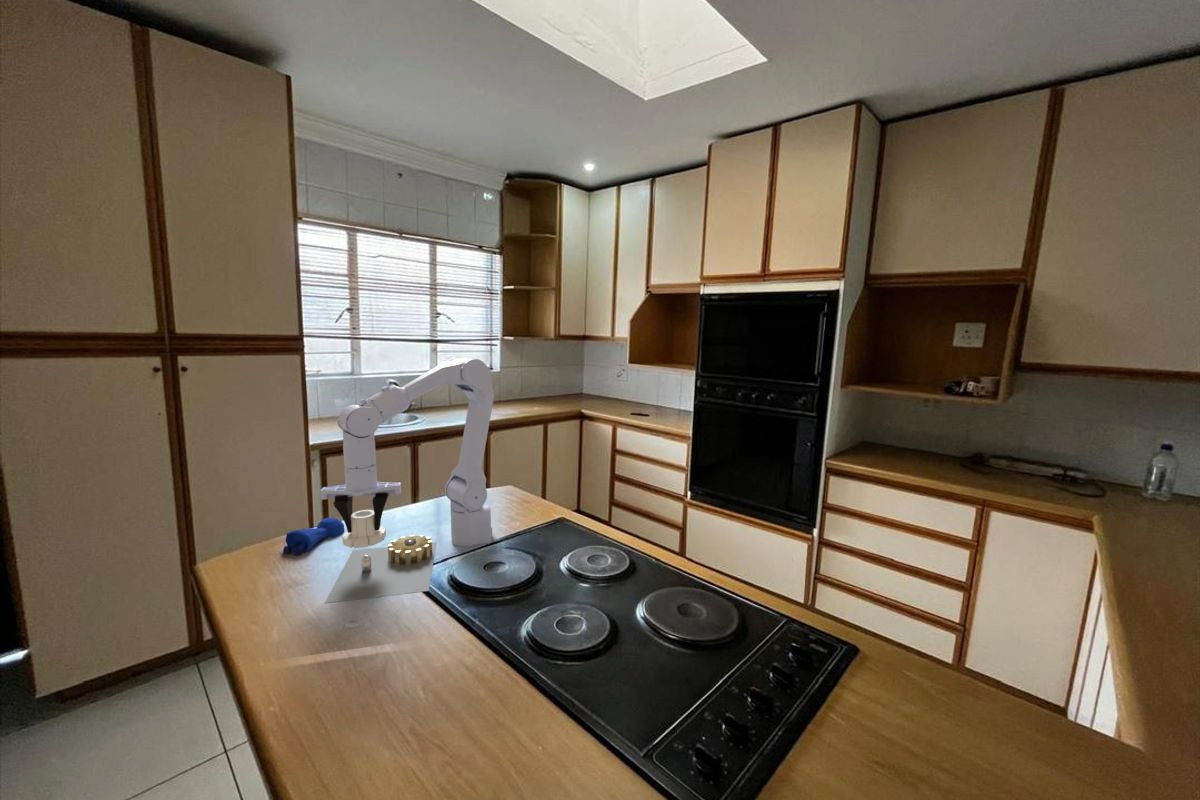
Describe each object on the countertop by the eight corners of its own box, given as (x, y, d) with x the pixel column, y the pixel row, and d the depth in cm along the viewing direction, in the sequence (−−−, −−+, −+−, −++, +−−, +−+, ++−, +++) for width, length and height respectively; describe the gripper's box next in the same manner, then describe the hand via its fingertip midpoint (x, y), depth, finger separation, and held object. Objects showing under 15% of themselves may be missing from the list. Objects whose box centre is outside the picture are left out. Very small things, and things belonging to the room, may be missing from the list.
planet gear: (387, 530, 103) (386, 505, 103) (381, 545, 96) (380, 519, 95) (348, 533, 101) (347, 508, 101) (339, 549, 94) (337, 522, 93)
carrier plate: (436, 545, 114) (436, 542, 114) (428, 594, 93) (428, 590, 93) (352, 553, 109) (352, 550, 109) (324, 607, 88) (324, 603, 88)
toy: (304, 563, 106) (352, 533, 121) (301, 536, 105) (350, 509, 119) (278, 559, 107) (328, 530, 122) (275, 533, 106) (326, 507, 121)
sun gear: (433, 545, 112) (433, 530, 112) (430, 563, 103) (430, 547, 103) (392, 549, 110) (391, 534, 109) (385, 567, 101) (384, 551, 101)
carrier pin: (372, 568, 101) (371, 553, 100) (370, 572, 99) (369, 557, 99) (362, 569, 100) (362, 554, 100) (361, 573, 99) (360, 558, 98)
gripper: (313, 473, 91) (318, 541, 93) (396, 468, 95) (399, 534, 97) (324, 463, 98) (329, 526, 100) (401, 459, 101) (404, 520, 103)
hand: (364, 529), depth 99 cm, fingers closed on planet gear, 4 cm apart
